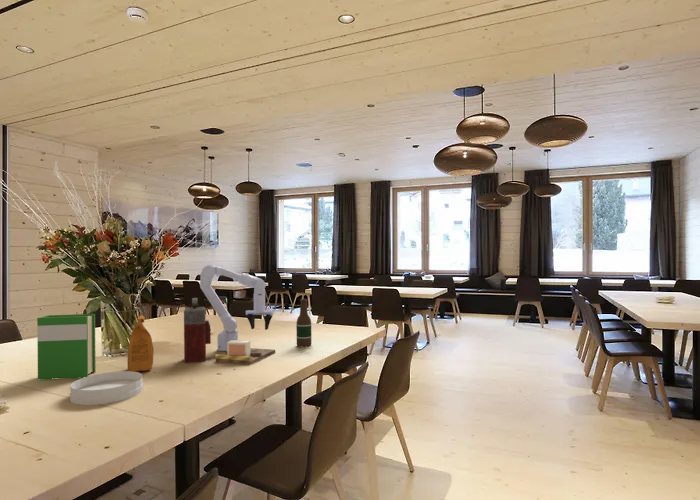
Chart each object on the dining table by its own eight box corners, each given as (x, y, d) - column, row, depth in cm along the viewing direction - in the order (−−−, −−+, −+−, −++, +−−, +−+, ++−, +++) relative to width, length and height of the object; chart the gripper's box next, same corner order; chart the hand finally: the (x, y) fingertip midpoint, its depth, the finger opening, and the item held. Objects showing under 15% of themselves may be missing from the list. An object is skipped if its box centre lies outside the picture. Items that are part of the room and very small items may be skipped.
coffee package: (154, 364, 185) (154, 314, 185) (153, 371, 173) (152, 318, 173) (129, 367, 181) (128, 315, 181) (125, 374, 170) (125, 319, 170)
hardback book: (95, 372, 173) (95, 313, 174) (87, 377, 166) (86, 316, 166) (48, 374, 171) (48, 315, 171) (37, 380, 164) (37, 318, 164)
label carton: (227, 358, 188) (226, 342, 188) (231, 355, 193) (231, 340, 193) (246, 358, 187) (246, 342, 187) (250, 355, 192) (250, 340, 192)
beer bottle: (293, 346, 217) (293, 299, 217) (302, 343, 224) (301, 298, 224) (306, 347, 213) (305, 300, 213) (314, 344, 220) (314, 298, 220)
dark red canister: (211, 360, 190) (210, 298, 190) (184, 363, 186) (183, 299, 186) (211, 356, 198) (210, 296, 198) (185, 358, 195) (184, 297, 195)
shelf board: (215, 361, 188) (215, 354, 188) (242, 350, 209) (242, 344, 209) (251, 364, 183) (251, 357, 183) (275, 352, 204) (275, 346, 204)
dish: (127, 380, 162) (127, 367, 162) (155, 392, 148) (154, 378, 148) (60, 396, 145) (59, 382, 145) (84, 411, 131) (83, 395, 131)
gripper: (242, 303, 213) (242, 330, 213) (269, 303, 210) (269, 331, 210) (249, 301, 220) (249, 327, 220) (275, 301, 216) (275, 328, 216)
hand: (259, 329), depth 215 cm, fingers open, 7 cm apart
